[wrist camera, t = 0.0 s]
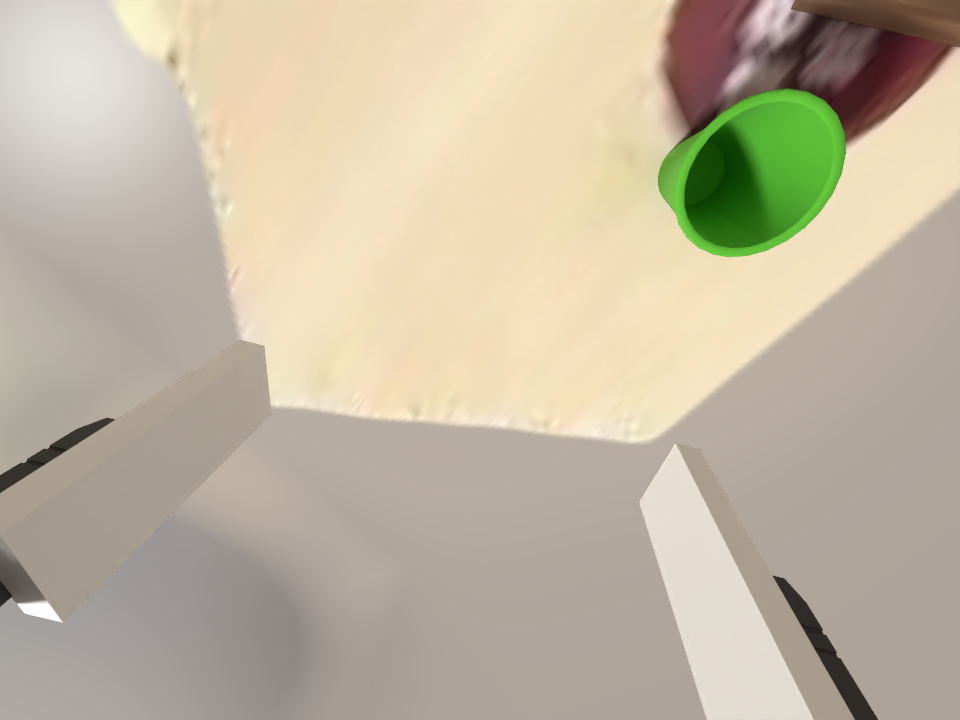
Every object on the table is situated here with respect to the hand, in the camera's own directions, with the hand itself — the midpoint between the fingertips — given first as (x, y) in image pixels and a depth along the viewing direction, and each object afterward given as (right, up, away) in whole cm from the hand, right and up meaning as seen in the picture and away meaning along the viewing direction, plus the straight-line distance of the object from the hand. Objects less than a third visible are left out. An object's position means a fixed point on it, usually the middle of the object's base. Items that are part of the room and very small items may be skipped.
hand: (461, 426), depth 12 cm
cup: (+18, +18, +20) cm, 33 cm away
